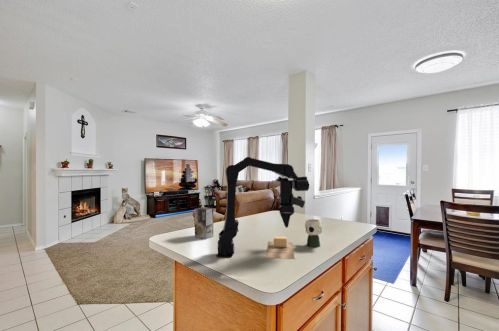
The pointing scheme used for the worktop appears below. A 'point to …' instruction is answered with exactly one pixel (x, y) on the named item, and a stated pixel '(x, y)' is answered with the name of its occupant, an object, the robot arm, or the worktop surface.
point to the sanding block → (280, 241)
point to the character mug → (313, 232)
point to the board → (280, 251)
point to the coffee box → (204, 222)
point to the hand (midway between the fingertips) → (286, 225)
